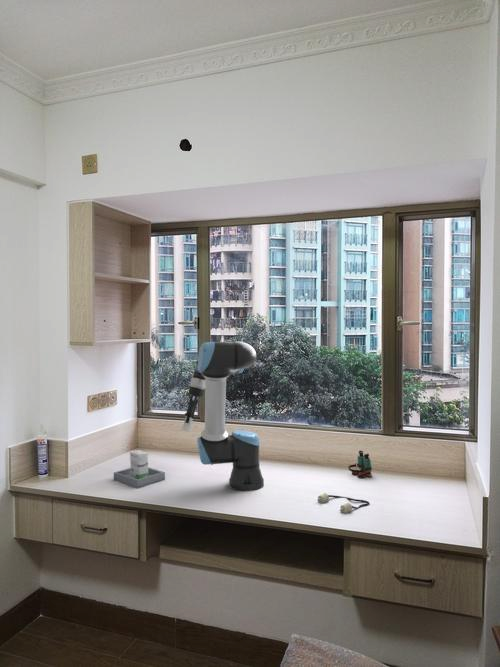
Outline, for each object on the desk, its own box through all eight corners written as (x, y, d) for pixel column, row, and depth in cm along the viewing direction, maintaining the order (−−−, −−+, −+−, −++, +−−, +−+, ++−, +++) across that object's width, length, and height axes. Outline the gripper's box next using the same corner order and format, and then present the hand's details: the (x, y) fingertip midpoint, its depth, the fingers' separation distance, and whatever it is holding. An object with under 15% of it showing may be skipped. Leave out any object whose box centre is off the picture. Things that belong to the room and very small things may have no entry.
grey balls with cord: (343, 494, 216) (343, 486, 215) (373, 506, 202) (373, 497, 202) (315, 502, 207) (315, 494, 207) (344, 515, 193) (344, 506, 193)
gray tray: (164, 479, 237) (164, 472, 237) (137, 488, 226) (137, 480, 226) (140, 472, 249) (140, 465, 249) (113, 480, 238) (113, 472, 238)
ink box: (149, 478, 236) (148, 452, 236) (139, 481, 233) (138, 454, 233) (139, 474, 243) (139, 449, 242) (130, 476, 240) (129, 451, 239)
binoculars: (344, 453, 240) (362, 449, 244) (346, 475, 241) (364, 471, 244) (355, 458, 232) (373, 453, 235) (357, 481, 232) (376, 476, 236)
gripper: (203, 386, 246) (192, 431, 241) (205, 392, 270) (194, 433, 265) (188, 383, 246) (176, 427, 241) (191, 389, 270) (180, 429, 265)
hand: (185, 430), depth 253 cm, fingers open, 13 cm apart
